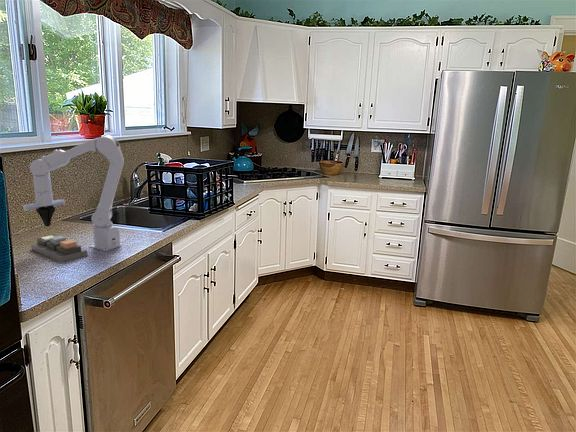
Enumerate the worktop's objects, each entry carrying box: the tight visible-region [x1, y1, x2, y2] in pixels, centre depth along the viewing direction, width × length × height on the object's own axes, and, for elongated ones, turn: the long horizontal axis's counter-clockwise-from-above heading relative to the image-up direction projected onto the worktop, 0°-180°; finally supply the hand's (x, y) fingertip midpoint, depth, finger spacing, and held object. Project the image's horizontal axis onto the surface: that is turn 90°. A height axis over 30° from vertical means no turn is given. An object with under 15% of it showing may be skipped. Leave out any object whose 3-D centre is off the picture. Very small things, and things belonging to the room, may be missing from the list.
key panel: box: [30, 234, 88, 263], centre depth 159 cm, size 22×10×4 cm, turn 54°
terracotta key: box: [60, 239, 78, 249], centre depth 154 cm, size 4×4×2 cm
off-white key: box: [40, 234, 55, 241], centre depth 163 cm, size 4×4×2 cm
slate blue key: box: [50, 235, 67, 245], centre depth 158 cm, size 4×4×2 cm
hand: (47, 225), depth 162 cm, fingers closed
